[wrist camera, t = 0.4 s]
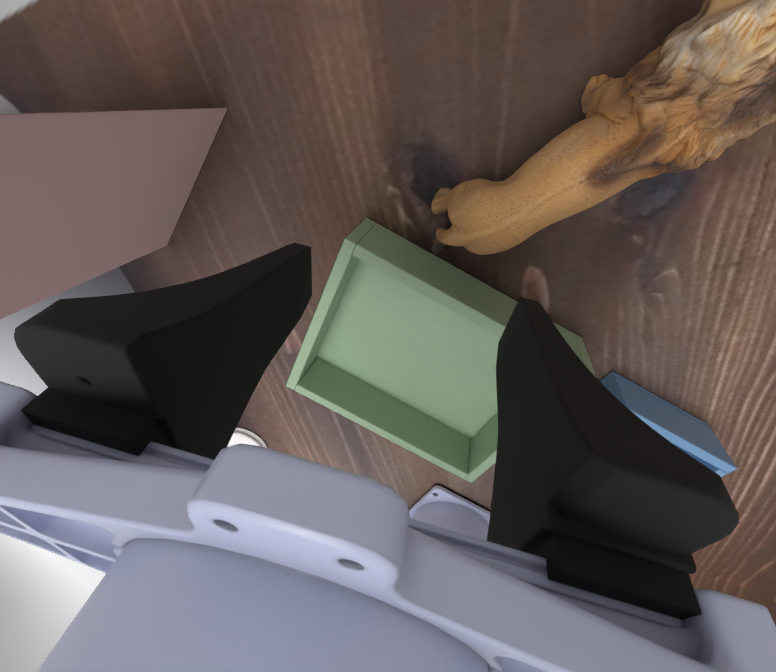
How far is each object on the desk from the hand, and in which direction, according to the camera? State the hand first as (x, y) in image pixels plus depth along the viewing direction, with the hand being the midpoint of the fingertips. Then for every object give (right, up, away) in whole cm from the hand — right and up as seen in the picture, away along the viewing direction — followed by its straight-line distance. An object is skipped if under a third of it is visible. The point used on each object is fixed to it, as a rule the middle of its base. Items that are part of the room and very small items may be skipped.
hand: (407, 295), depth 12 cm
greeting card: (-14, +9, +11) cm, 20 cm away
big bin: (+2, -2, +13) cm, 14 cm away
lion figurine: (+7, +8, +5) cm, 12 cm away
